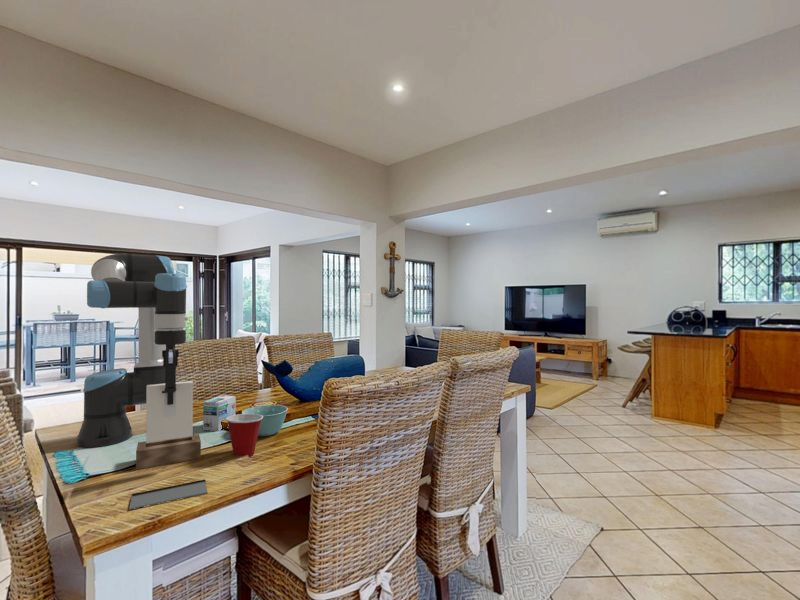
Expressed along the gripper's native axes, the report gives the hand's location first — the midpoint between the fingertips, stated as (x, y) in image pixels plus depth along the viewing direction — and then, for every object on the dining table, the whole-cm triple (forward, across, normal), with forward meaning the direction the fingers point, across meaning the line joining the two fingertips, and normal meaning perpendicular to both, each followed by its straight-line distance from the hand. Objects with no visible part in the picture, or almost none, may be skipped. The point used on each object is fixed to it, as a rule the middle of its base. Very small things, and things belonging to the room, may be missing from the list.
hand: (170, 414), depth 110 cm
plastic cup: (+16, +4, -20) cm, 26 cm away
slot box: (+16, +9, 0) cm, 18 cm away
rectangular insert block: (+7, 0, 0) cm, 7 cm away
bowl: (+16, +22, -30) cm, 41 cm away
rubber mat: (+16, -8, 0) cm, 18 cm away
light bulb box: (+16, +37, -17) cm, 44 cm away
